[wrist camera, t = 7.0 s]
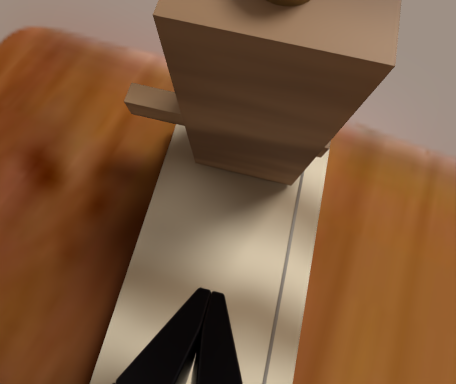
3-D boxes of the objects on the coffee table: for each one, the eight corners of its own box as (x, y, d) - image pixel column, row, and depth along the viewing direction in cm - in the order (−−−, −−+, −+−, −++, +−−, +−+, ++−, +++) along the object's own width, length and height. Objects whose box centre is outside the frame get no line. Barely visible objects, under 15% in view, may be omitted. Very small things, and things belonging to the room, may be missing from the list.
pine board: (248, 579, 13) (252, 636, 11) (57, 519, 13) (29, 563, 11) (319, 158, 19) (329, 145, 17) (184, 126, 19) (180, 111, 17)
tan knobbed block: (307, 189, 16) (477, 40, 5) (133, 148, 16) (-35, -65, 6) (317, 131, 17) (476, -93, 6) (153, 94, 17) (43, -170, 7)
